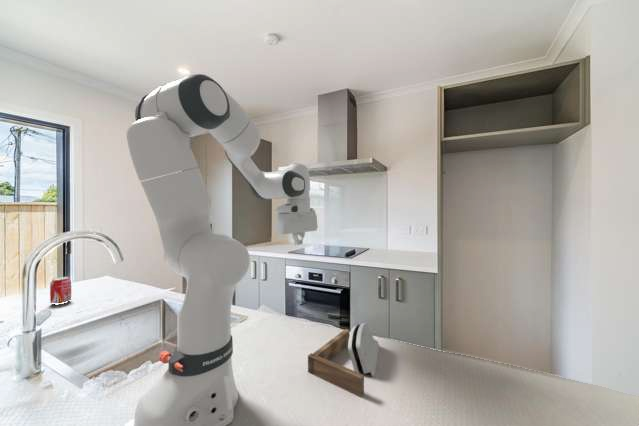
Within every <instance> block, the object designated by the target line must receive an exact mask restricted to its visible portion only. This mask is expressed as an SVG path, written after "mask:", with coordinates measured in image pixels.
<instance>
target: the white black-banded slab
mask: <svg viewBox="0 0 639 426" xmlns="http://www.w3.org/2000/svg"><path fill="white" fill-rule="evenodd" d="M347 349H348V353H349V356H350V360H351V364H352V367H353V371H355V372H358V373H360V374H362V373H363V375H365V374H369V373H370V375H371V378H375V376H376V369H377V365H378V364H377V363H378V358H379V351H380V344H379V341H378V340H377V339H375V338H374V337H373V333H372V332H371V329H370V326H369V324H368V323H367V322H366V323H365V322H363V323H361V324H360V323H359V324H358V323H357V324H356V325H354V326H353V327H352V328H351V330H350V336H349V342H348V346H347Z"/></svg>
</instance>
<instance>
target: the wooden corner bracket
mask: <svg viewBox="0 0 639 426" xmlns="http://www.w3.org/2000/svg"><path fill="white" fill-rule="evenodd" d="M350 332H351V330H350V329H347V328H345V329H343V330H342V331H340V333H338V334H337V335H336V336H334V337H332V339H330V340H329V341H328V342H326V343H325V344H324V345H322V346H321V347H320V348H318V349H317V350H315V351H314V352H313V353H310V354H308V355H307V373H309V374H311V375H314V376H315V377H317V378H319V379H322V380H324V381H325V382H328V383H330V384H332V385H334V386H336V387H338V388H340V389H343V390H345V391H347V392H349V393H351V394H353V395H356V396H358V397H360V398H362V397H363V395H364V394H365V374H364V373H363V374H362V373H358V372H355V371H354V369H353V370H352V369H351V368H348V367H346V366H343V365H341V364H339V363H336V362H334V361H332V360H333V359H334V358H335V357H336V356H337V355H338V354H339V353H341V352H342V351H343V350H344V349H346V348H347V347H348V342H349V336H350Z"/></svg>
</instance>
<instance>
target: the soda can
mask: <svg viewBox="0 0 639 426" xmlns="http://www.w3.org/2000/svg"><path fill="white" fill-rule="evenodd" d="M49 299H50V300H49V301H50V302H49V303H50V304H51V303H62V302H66V301H69V300H72V280H71V278H70V277H69V276H61V277H54V278H51V281H50V284H49ZM69 302H70V301H69Z"/></svg>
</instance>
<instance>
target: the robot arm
mask: <svg viewBox="0 0 639 426" xmlns="http://www.w3.org/2000/svg"><path fill="white" fill-rule="evenodd" d="M134 117H135V122H133V123H131V124H130V126H129V127H128V128H127V131H126V140H127V141H126V142H127V145H128V150H129V153H130V158H131V160H132V165H133V166H134V167H133V168H134V170H135V173H136V175H137V178H138V180H139V182H140V184H141V187H142V189H143V191H144V194H145V196H146V197H147V200H148V203H149V205H150V207H151V209H152V212H153V214H154V216H155V217H154V218H155V219H156V223H157V227H158V229H159V230H158V231H159V235H160V239H161V244H162V246H163V247H162V248H163V257H164V259H165V263H166V264H167V266H168V267H169V268H170V270H172V272H174V274H175V275H179V276H181V277H183V278H185V279H186V280H185V281H186V289H185V295H184V300H183V303H182V304H181V306H180V307H179V308H178V310H177V314H176V315H177V316H176V319H177V320H176V322H177V323H176V324H177V326H176V327H177V330H176V332H177V333H176V334H177V339H176V340H177V341H176V342H177V344H176V347H175V348H174V351H173V353H170V352H169V351H168V350H163V351H161V352H160V353H159V355H158V361H160V362H161V363H162V364H163V365H164V364H165V365H166V364H168V367H167V368H166V369H165V370H164V371H163V372H162V374H161V375H160V376H159V377H158V378H157V379H156V380H155V381H154V382H153V383H152V384H151V385H150V387H148V389H146V391H145V392H144V393H143V394H142V395H141V396H140V397H139V400H138V401H137V403H136V404H137V405H136V407H135V412H134V417H133V418H131V419H130V420H129V421H127V422H126V423H125V424H123V426H227V425H229V424H231V423H232V422H233V421H234V415H235V414H234V412H235V411H234V410H235V407H236V405H237V403H238V400H239V390H238V389H237V385H236V382H235V377H234V372H233V371H234V370H233V361H232V356H233V352H234V349H233V348H234V343H233V335H232V334H231V331H232V330H231V326H232V325H231V323H232V320H231V317H232V315H231V314H232V313H231V312H232V303H233V299H234V298H233V297H234V294H235V291H236V288H237V285H239V283H240V282H241V281H242V280H243V279H244V277H245V276H246V274H247V272H248V271H249V267H250V263H251V262H250V260H251V259H250V253H249V251H248V248H246V246H245V245H244V244H243V243H242V242H240V241H239V240H237V239H235V238H233V237H231V236H229V235H226V234H218V233H214V232H213V230H212V227H211V222H210V212H209V211H210V207H211V204H212V199H211V196H210V194H209V191H208V188H207V186H206V183H205V180H204V177H203V175H202V173H201V169H200V167H199V164H198V162H197V159H196V157H195V154H194V153H193V150H192V149H191V138H192V137H193V138H194V137H196V136H198V135H201V134H204V133H206V132H207V131H208V132H209V134H210V135H211V136H212V137H213V138H214V139H215V140H216V141H217V142H218V143H219V144H220V145H221V146H222V148H223V149H224V151H225V152H224V153H225V156H226V158H227V160H228V161H229V163H230V164H231V165H232V166H233V168H234V169H235V170H236V171H237V172H238V173H239V175H240V176H241V178H243V179H244V181H245V182H246V183H247V184H248V186H249V188H250V191H251V192H252V194H253V195H254V197H256V198H257V199H258V200H260V201H267V200H268V201H269V200H280V199H286V202H285V203H284V204H281V205H279V206H277V207H276V213H277V214H276V219H275V220H276V221H275V229H276V230H275V231H276V233H277V234H278V235H291V237H292V239H293V243H294V245H295V246H298V245H303V243H304V238H305V235H306V232H315V231H316V232H317V230H318V227H319V226H318V217H317V214H316V210H315V209H314V208H313V207H311V198H310V190H311V180H310V178H311V177H310V171H309V168H308V166H306V165H304V164H302V163H291V164H289V165H288V166H287V168H285V169H283V170H279V171H268V172H267V171H263V170H260V169H259V168H258V166H257V165H256V164H255V162H254V161H253V159H252V158H251V157H252V156H253V155H254V154H255V153H256V151H257V150H258V147H259V146H260V143H261V132H260V128H259V127H258V125H257V123H255V120H254V119H252V118H251V116H250V115H249V114H248V113H247V111H246V110H245V109H244V108H243V107H242V105H241V104H240V103H238V101H237V100H235V98H233V96H231V95H230V94H229V93H228V92H226V91H225V90H224V88H223V87H222V86H221V85H220V84H219V83H218V82H217V81H216V80H214V79H213V78H212V77H210V76H208V75H205V74H203V73H202V74H201V73H199V74H197V73H194V74H190V75H185V77H182V79H178V80H175V81H172V82H170V83H165V84H164V85H161V86H159V87H158V88H156V89H155V90H153V91H152V92H150V93H148V94H145V95H144V96H143V97H142V98H141V99H140V100H139V101H138V102H137V104H136V107H135V111H134Z"/></svg>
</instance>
